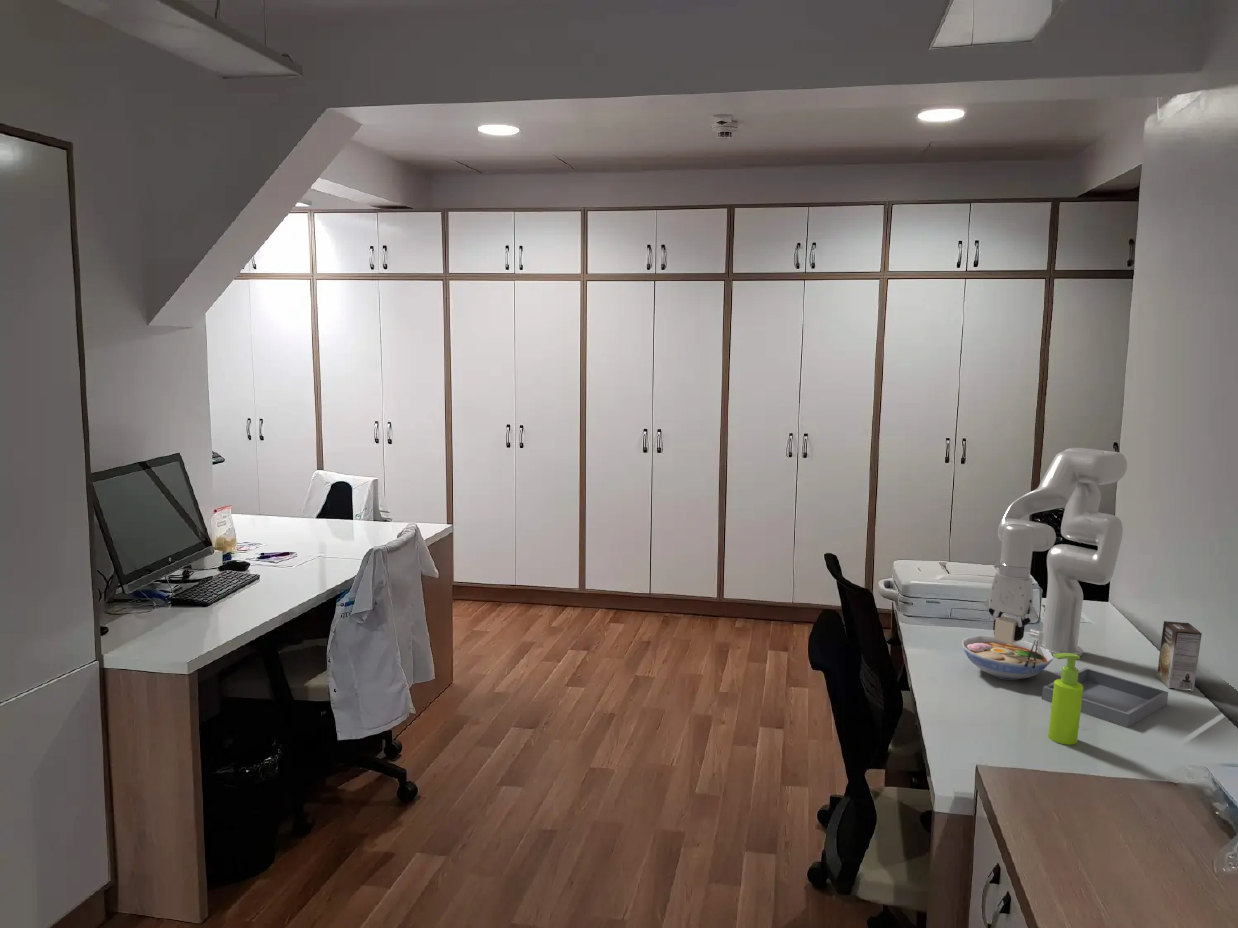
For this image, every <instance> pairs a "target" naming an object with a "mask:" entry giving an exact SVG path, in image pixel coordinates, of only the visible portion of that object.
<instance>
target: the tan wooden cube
mask: <svg viewBox="0 0 1238 928" xmlns="http://www.w3.org/2000/svg"><path fill="white" fill-rule="evenodd" d="M1016 626H1017V618H1016V617H1012V616H1008V615H1002V617H999V618H996V621H995V630H993V636H994V638H995V639H998V640H1001V641H1005V642H1008V643H1015V642H1017V641H1015V640H1014V636H1015V627H1016ZM1018 641H1020V640H1018Z"/></svg>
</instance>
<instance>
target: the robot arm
mask: <svg viewBox="0 0 1238 928" xmlns="http://www.w3.org/2000/svg"><path fill="white" fill-rule="evenodd" d="M1127 469H1128V462H1127V458H1126V456H1125V455H1124V454H1123V453H1121V452H1118V451H1112V450H1111V451H1110V450H1102V449H1097V448H1094V449H1093V448H1087V447H1086V448H1085V447H1069V448H1066V449H1064V450H1063V451H1060V452H1058V453H1056V454H1055V456H1054V458H1053V459H1052V461H1051V462H1050V464H1049V466H1048V468H1047V470H1046V471H1045V474H1044V475H1043V477H1042V479H1041V481H1040V482H1039V485H1038V487H1036V488H1035V489H1034V490H1031V491H1029V492H1027V493H1025V494H1023V495H1022V496H1020V497H1019V498H1017V499H1016V500H1014V501H1013V502H1012V503H1011V504H1009V506H1008V508H1007V509H1006V511H1005V513H1004V515H1003V516H1002V518H1001V520H1000V522H999V524H998V529H997V536H998V539H999V540H1000V542H1001V551H1000V559H999V562H995V564H994V567H995V568H997V569H998V572H996V573H995V574H994V577H993V580H992V582H991V583H992V584H991V588H990V593H989V598H987V599H986V601H984V602H983V605H984V607H985V608H986V609H987V610H988V612H989V614H990V615H991V618H992V620H993V627H992V629H993V631H994V630H995V621H996V618H999V617H1002V616H1004V615H1003V614H1004V613H1005V614H1007V615H1011V616H1015V618H1016V619H1017V626H1016V627H1015V636H1014V640H1015V641H1018V640H1023V638H1024V634H1025V627H1026V626H1027V625H1028V624H1029V623H1031V622H1033V621H1035V620H1037V619H1039V617H1040V616H1039V615H1038V613H1037V611H1036V609H1035V607H1034V605H1033V604H1034V587H1033V585H1034V584H1033V579H1032V578H1031V577H1030V576H1031V569H1032V560H1033V552H1045V551H1047V550H1048V552H1047V555H1046V568H1047V590H1046V599H1045V607H1044V616H1043V617H1044V618H1043V626H1042V630H1038V629H1035V628H1030V629H1029V637H1031V638H1036V639H1037V640H1038V644H1037V641H1035V645H1038V646H1041V647H1043V648H1044V649H1046V650H1048V651H1049V652H1051V654H1052V656H1053V655H1054V654H1058V653H1073V654H1077V655H1078V656H1080V657H1081V656H1082V655H1084V650H1083V648H1081V647H1080V646H1079V645H1078V644H1079V638H1080V637H1079V636H1080V629H1081V628H1080V626H1081V621H1082V620H1081V619H1082V609H1083V602H1084V593H1083V589H1082V587H1081V585H1080V583H1079V581H1080V582H1085V583H1090V584H1094V585H1099V586H1101V585H1103V586H1106V584H1109V583H1110V582H1111V580H1112V578H1113V575H1114V573H1115V569H1116V564H1117V562H1118V561H1117V560H1118V557H1119V552H1120V548H1121V543H1122V539H1123V534H1124V528H1123V527H1124V526H1123V522H1122V520H1121V519H1120V518H1119V517H1118V516H1116V515H1113V514H1110V513H1106V512H1105V513H1104V512H1099V508H1100V503H1101V500H1102V494H1101V490H1100V489H1099V487H1098V486H1100V485H1101V486H1104V485H1108V484H1113V483H1117V482H1119V481H1120V480H1122V479H1123V478H1124V476H1125V475H1126V473H1127ZM1064 506H1065V507H1064ZM1063 507H1064V511H1063V517H1062V519H1061V524H1060V525H1061V526H1060V534H1061V536H1062V537H1063V538H1064V539H1066V540H1069V541H1073V542H1077V543H1080V544H1082V543H1083V544H1086V545H1092V546H1097V550H1096V549H1092V548H1086V547H1083V546H1076V545H1071V544H1065V543H1064V544H1063V543H1061V544H1056V545H1055V542H1056V540H1057V534H1056V532H1055V529H1054V528H1053V526H1050V525H1048V524H1046V523H1042V522H1037V521H1032V520H1027V519H1025V518H1026V517H1028V516H1030V515H1033V514H1036V513H1040V512H1045V511H1046V512H1047V511H1051V510H1055V509H1060V508H1063ZM1027 615H1029V616H1028V617H1027Z"/></svg>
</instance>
